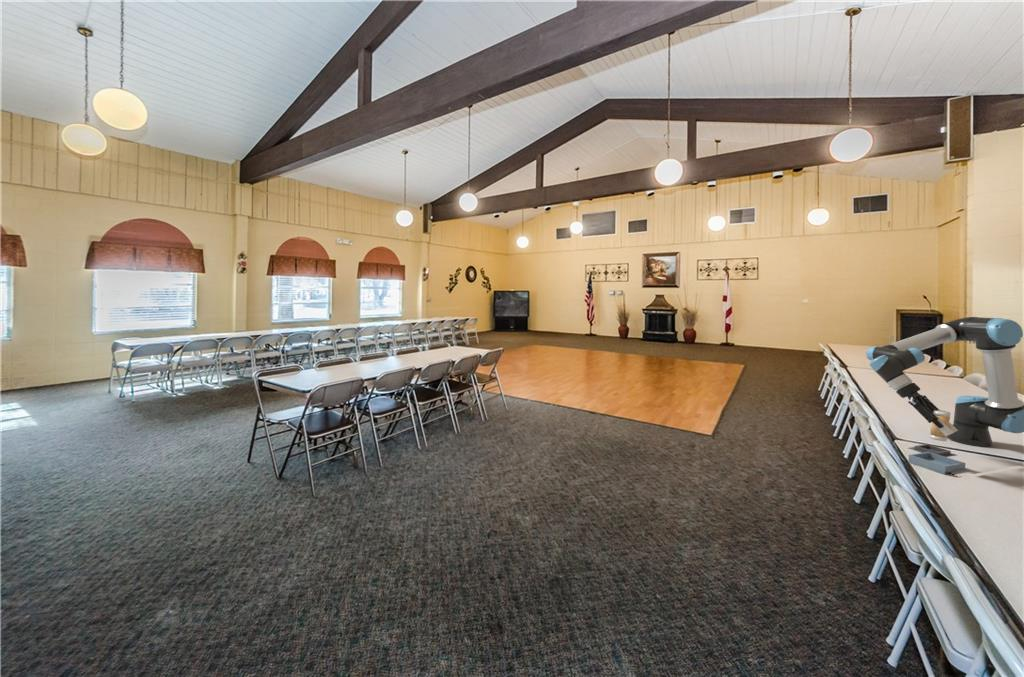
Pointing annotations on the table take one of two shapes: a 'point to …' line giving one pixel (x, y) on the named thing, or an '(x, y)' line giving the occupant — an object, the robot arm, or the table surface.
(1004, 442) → the table surface
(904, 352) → the robot arm
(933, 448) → the block
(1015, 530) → the table surface
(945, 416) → the ball
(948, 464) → the parts tray
